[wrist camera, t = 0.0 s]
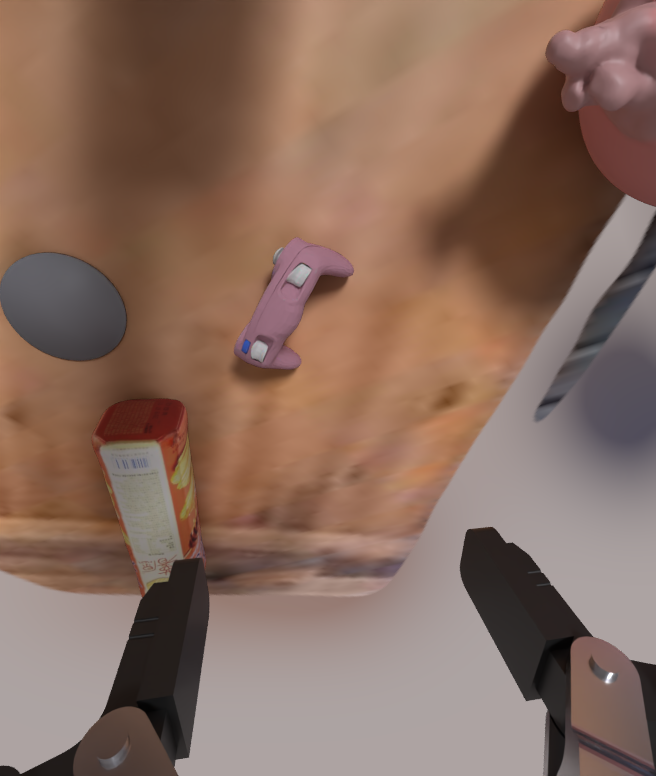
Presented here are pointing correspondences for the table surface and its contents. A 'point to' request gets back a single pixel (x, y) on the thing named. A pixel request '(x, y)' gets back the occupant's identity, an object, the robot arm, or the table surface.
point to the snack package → (151, 484)
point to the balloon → (614, 91)
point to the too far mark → (63, 306)
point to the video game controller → (286, 303)
